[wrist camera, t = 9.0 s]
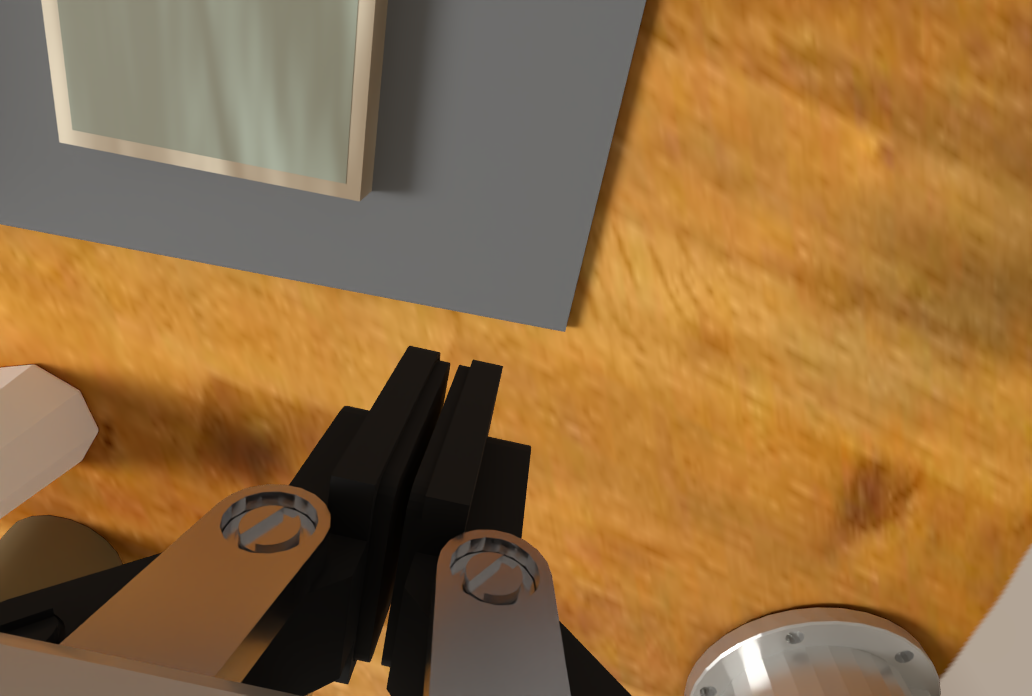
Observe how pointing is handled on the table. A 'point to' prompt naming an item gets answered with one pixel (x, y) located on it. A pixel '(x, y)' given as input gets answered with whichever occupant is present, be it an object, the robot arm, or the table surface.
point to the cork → (50, 554)
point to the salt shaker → (38, 432)
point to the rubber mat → (397, 164)
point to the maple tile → (224, 85)
